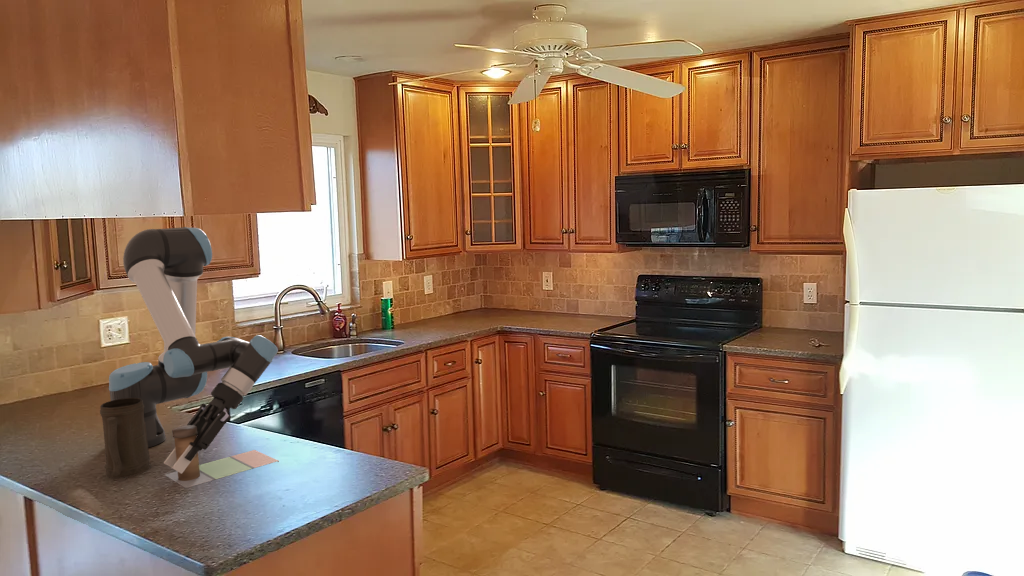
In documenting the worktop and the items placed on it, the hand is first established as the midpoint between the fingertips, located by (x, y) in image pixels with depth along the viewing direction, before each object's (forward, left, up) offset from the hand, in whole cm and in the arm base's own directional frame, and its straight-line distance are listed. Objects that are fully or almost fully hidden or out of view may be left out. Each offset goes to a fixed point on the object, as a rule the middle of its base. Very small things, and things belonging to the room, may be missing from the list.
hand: (172, 468), depth 177 cm
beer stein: (-16, -6, -5) cm, 18 cm away
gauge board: (0, +12, -5) cm, 13 cm away
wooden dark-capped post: (0, +4, -3) cm, 5 cm away
